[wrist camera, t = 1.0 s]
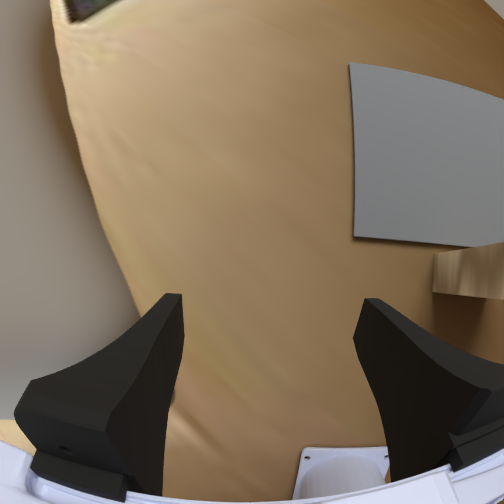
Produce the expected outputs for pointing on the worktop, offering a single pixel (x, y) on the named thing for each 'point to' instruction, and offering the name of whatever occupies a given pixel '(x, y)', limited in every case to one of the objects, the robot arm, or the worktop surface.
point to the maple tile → (471, 272)
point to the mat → (426, 159)
